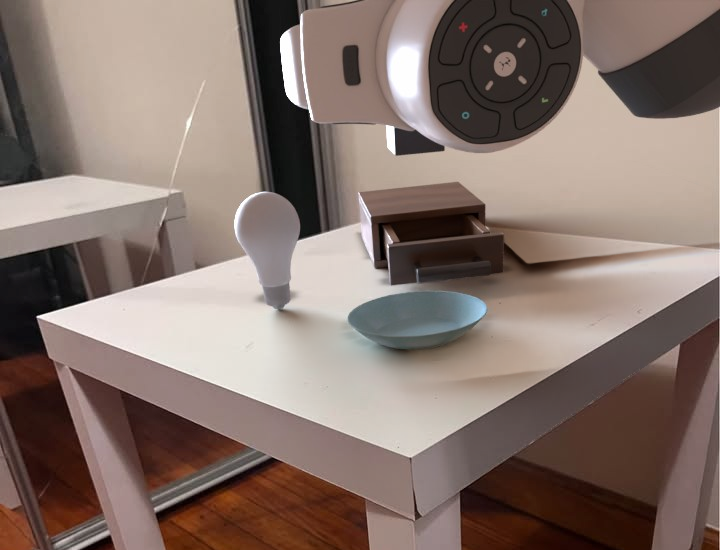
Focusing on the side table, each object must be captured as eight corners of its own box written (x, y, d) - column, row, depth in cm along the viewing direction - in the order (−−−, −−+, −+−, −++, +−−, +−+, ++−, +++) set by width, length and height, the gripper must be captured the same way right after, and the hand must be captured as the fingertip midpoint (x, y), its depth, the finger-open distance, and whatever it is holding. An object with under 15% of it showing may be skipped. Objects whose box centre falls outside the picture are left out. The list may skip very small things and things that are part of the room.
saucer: (321, 346, 66) (318, 320, 65) (407, 306, 73) (406, 282, 72) (431, 373, 59) (430, 345, 58) (514, 326, 66) (514, 300, 65)
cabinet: (485, 255, 86) (485, 204, 83) (374, 268, 86) (370, 216, 83) (459, 227, 99) (458, 181, 96) (362, 238, 98) (358, 192, 95)
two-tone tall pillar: (433, 143, 65) (430, -9, 60) (444, 151, 61) (441, -13, 55) (387, 148, 65) (379, -5, 60) (395, 156, 61) (387, -8, 55)
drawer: (513, 284, 73) (514, 243, 71) (396, 297, 73) (393, 257, 71) (473, 241, 88) (473, 207, 86) (375, 252, 88) (373, 218, 86)
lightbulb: (295, 320, 72) (278, 198, 67) (237, 318, 74) (217, 200, 69) (319, 299, 77) (305, 184, 72) (264, 298, 79) (247, 186, 74)
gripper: (607, -18, 47) (540, -7, 59) (276, 12, 46) (276, 17, 58) (599, 96, 50) (537, 84, 62) (289, 126, 50) (287, 109, 62)
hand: (409, 52), depth 60 cm, fingers closed on two-tone tall pillar, 4 cm apart
